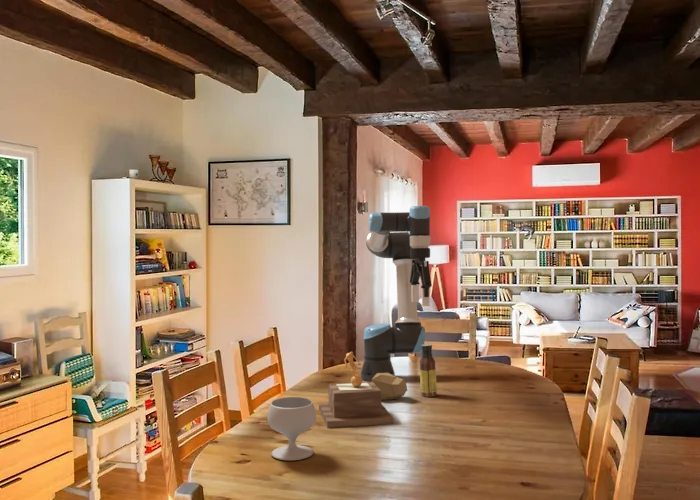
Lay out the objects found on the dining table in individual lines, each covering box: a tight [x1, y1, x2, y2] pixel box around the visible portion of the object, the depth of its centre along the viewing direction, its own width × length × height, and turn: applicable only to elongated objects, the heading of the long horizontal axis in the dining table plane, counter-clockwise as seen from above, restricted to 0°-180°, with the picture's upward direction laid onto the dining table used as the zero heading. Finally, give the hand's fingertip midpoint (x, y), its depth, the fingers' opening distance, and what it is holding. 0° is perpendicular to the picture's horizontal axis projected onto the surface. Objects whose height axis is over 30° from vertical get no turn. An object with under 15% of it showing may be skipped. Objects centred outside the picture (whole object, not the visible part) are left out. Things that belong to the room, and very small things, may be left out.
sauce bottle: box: [419, 343, 438, 398], centre depth 240 cm, size 7×6×20 cm
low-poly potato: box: [371, 373, 408, 401], centre depth 236 cm, size 15×11×12 cm
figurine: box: [344, 351, 363, 387], centre depth 214 cm, size 8×6×12 cm
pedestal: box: [318, 381, 394, 429], centre depth 214 cm, size 22×22×10 cm
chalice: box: [266, 396, 317, 461], centre depth 177 cm, size 14×14×15 cm
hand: (420, 304), depth 231 cm, fingers open, 13 cm apart
